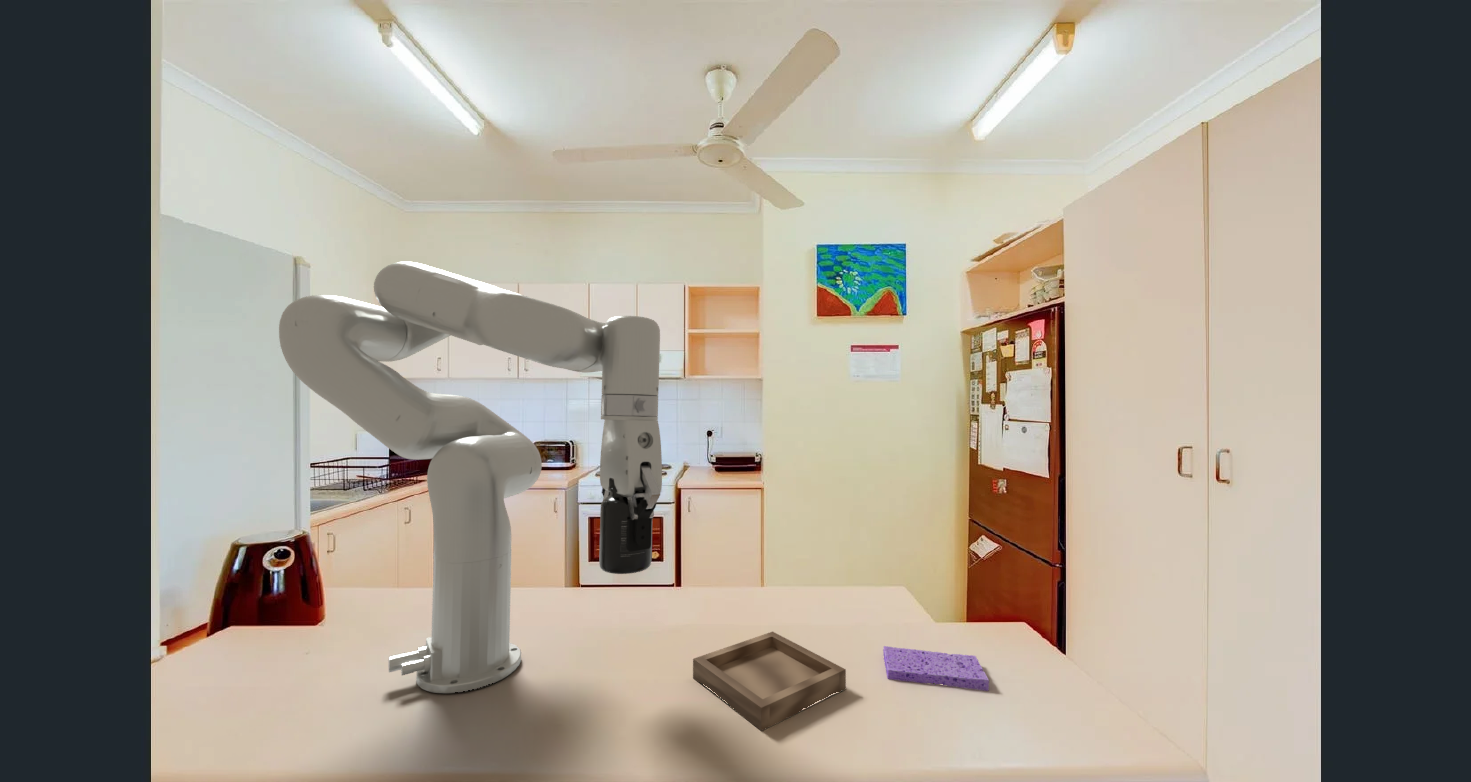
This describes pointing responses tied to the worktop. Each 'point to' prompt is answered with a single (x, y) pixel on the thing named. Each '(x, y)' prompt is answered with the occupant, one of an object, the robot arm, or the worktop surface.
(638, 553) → the supplement bottle
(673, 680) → the worktop surface
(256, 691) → the worktop surface
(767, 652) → the walnut tray
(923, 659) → the sponges
